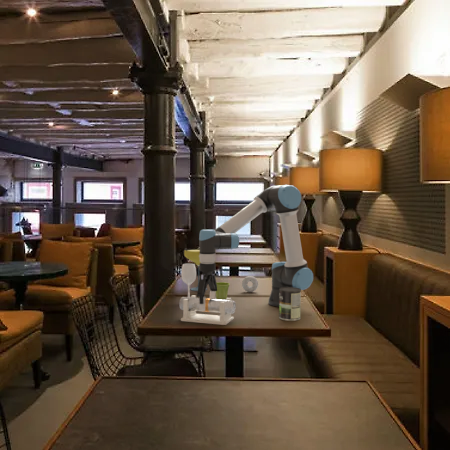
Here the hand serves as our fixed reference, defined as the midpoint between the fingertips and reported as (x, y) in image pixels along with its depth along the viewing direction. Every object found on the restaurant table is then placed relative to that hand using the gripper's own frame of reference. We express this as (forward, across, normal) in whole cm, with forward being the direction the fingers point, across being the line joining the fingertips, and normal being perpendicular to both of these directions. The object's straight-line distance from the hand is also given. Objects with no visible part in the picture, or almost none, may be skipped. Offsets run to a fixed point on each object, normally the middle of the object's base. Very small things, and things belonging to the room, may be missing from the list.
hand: (207, 307), depth 229 cm
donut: (+6, -73, 0) cm, 73 cm away
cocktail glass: (+6, -71, -33) cm, 79 cm away
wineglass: (+6, -34, -24) cm, 42 cm away
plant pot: (+6, -49, -10) cm, 50 cm away
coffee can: (+6, -16, +36) cm, 40 cm away
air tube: (+2, 0, 0) cm, 2 cm away
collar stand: (+6, 0, 0) cm, 6 cm away
